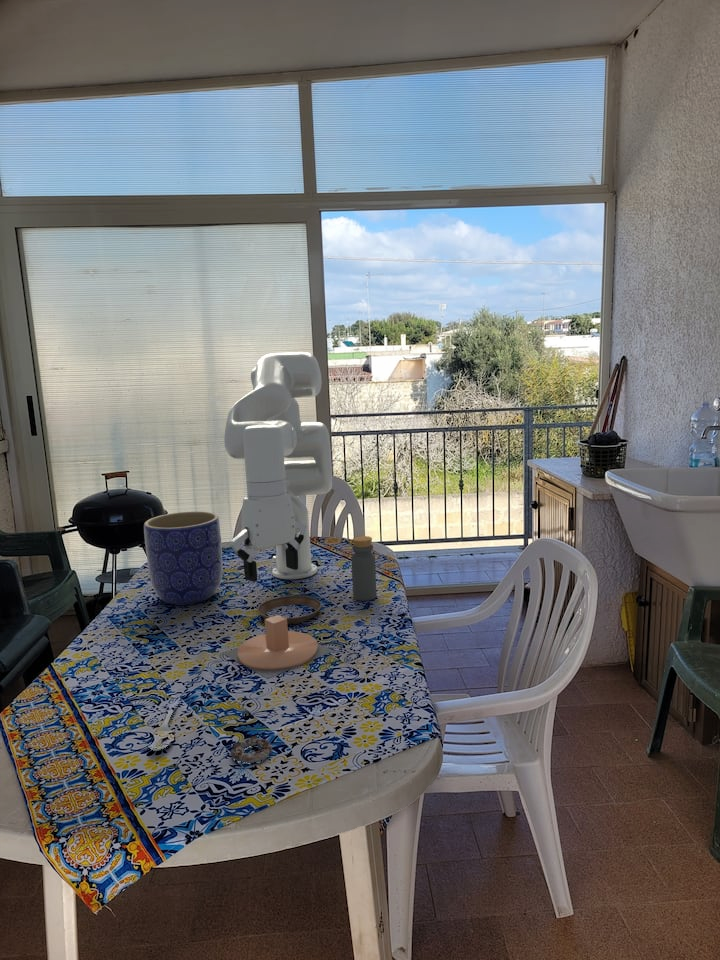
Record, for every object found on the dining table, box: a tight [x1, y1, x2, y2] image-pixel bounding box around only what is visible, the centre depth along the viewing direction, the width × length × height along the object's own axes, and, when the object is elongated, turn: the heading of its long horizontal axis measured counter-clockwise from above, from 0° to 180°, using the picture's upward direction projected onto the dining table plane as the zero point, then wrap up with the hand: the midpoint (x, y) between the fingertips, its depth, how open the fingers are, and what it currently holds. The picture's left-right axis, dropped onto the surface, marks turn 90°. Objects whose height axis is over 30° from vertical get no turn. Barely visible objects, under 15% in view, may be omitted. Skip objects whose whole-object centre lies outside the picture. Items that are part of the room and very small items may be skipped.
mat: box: [222, 629, 335, 680], centre depth 132 cm, size 16×16×1 cm
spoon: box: [150, 711, 174, 752], centre depth 109 cm, size 4×21×2 cm, turn 6°
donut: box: [230, 734, 273, 763], centre depth 99 cm, size 8×8×2 cm
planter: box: [143, 510, 223, 606], centre depth 166 cm, size 18×18×21 cm
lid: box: [237, 614, 319, 670], centre depth 131 cm, size 16×16×7 cm
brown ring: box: [257, 595, 323, 625], centre depth 152 cm, size 15×15×3 cm
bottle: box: [350, 535, 378, 602], centre depth 161 cm, size 6×6×15 cm
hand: (272, 574), depth 129 cm, fingers open, 9 cm apart
